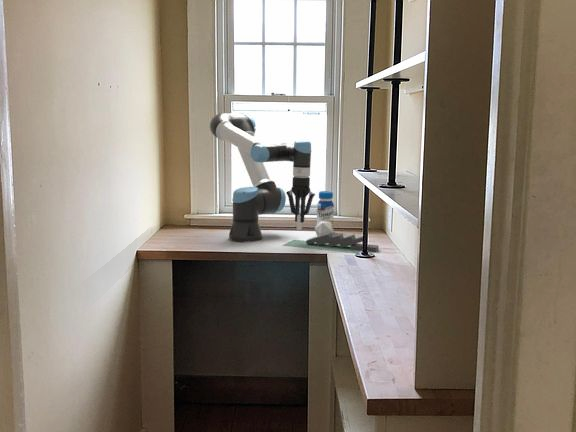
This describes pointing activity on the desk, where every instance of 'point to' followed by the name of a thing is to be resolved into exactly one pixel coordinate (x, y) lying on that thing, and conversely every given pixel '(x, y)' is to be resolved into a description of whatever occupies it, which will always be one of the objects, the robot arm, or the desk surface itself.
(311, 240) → the domino
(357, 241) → the domino
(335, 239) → the domino
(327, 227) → the die
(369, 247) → the domino
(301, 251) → the desk surface
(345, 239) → the domino
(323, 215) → the beverage bottle
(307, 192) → the robot arm
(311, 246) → the mat
